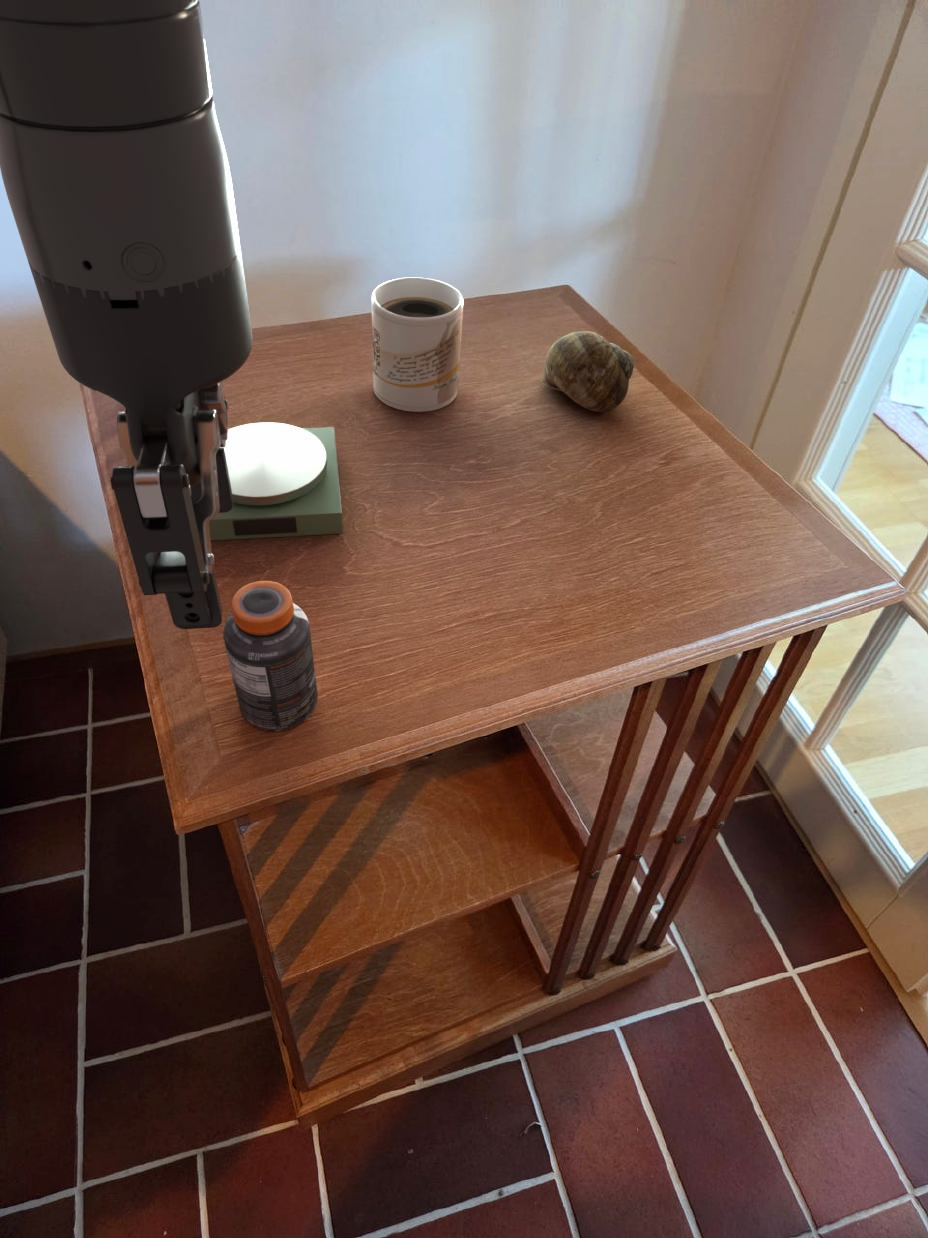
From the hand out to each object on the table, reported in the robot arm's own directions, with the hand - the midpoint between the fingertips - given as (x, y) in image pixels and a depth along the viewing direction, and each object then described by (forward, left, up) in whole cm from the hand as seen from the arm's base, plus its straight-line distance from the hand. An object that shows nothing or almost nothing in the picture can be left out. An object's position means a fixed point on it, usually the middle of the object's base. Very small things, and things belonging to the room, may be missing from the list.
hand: (206, 562), depth 42 cm
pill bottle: (+1, +8, -22) cm, 24 cm away
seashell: (+36, +50, -22) cm, 66 cm away
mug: (+17, +54, -22) cm, 61 cm away
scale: (0, +35, -22) cm, 41 cm away
